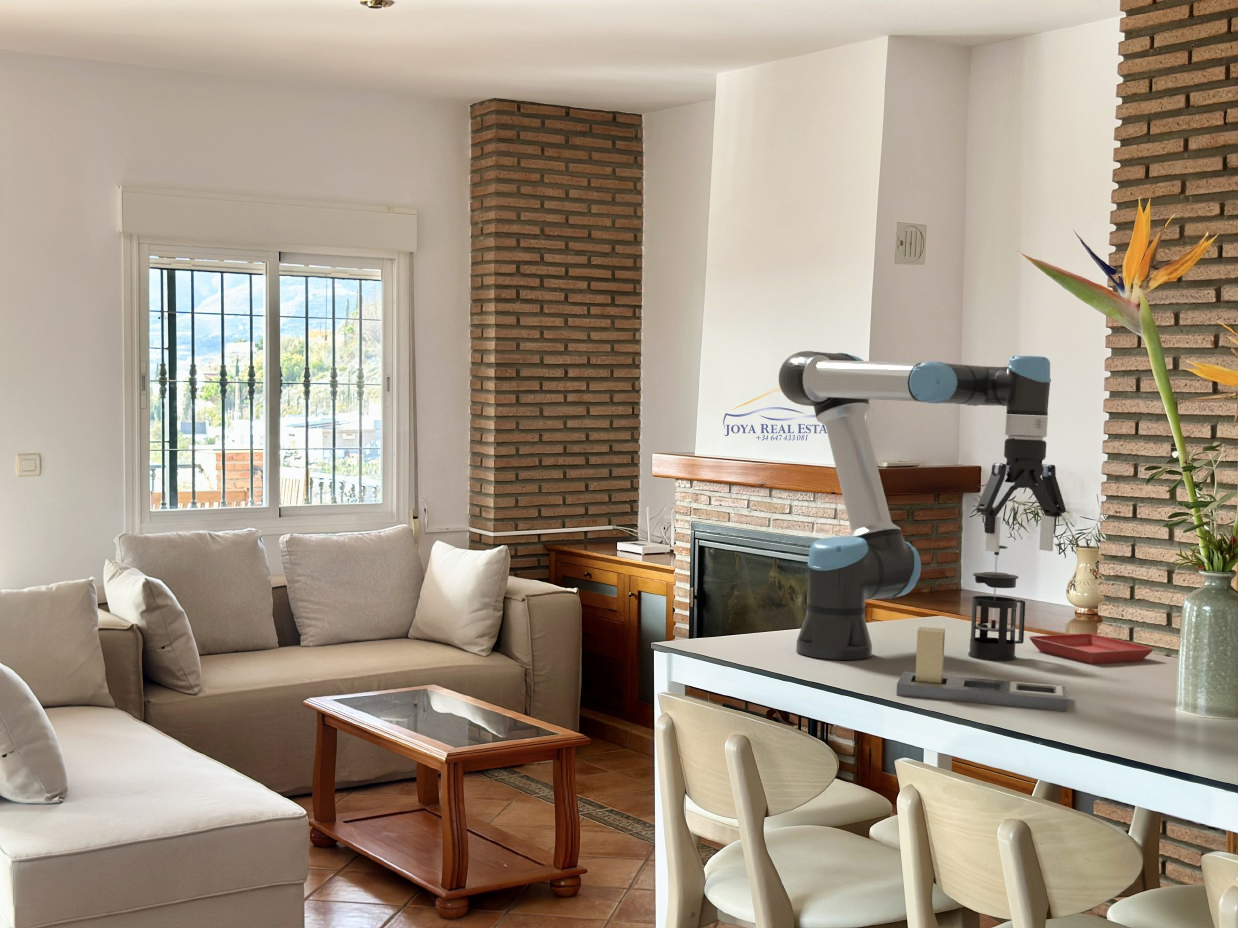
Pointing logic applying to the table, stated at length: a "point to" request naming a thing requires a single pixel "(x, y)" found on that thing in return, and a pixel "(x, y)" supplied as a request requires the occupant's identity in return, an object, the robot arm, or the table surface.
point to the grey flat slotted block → (986, 692)
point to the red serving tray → (1090, 648)
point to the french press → (986, 645)
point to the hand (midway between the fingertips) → (1019, 551)
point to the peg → (930, 655)
